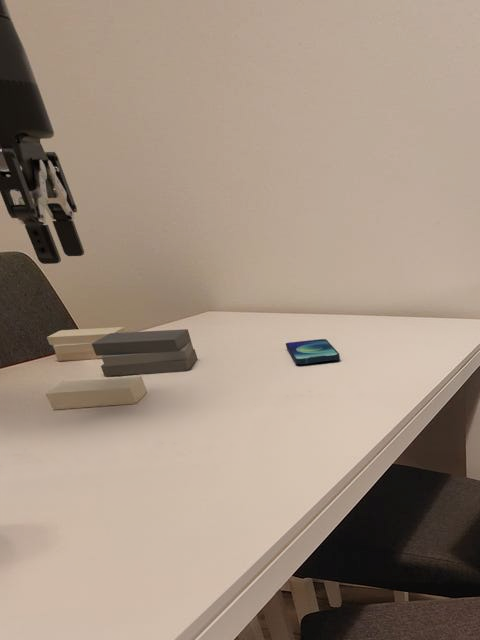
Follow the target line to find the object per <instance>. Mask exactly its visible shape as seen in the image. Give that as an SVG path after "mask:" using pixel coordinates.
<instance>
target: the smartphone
mask: <svg viewBox="0 0 480 640" xmlns="http://www.w3.org/2000/svg"><path fill="white" fill-rule="evenodd" d="M285 346H286V350H287V351H288V353H289V355H290V356H291V358H292V360H293V361H294V363H295V364H296V365H308V364H316V363H322V362H331V361H338V360H341V356H340V353H339V352H338V351H337V350H336V348H335V347H334V346H333V345H332V344H331V343H330V342H329V340H328V339H326V338H320V339H309V340H299V341H290V342H289V341H288V342H286V343H285Z"/></svg>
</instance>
